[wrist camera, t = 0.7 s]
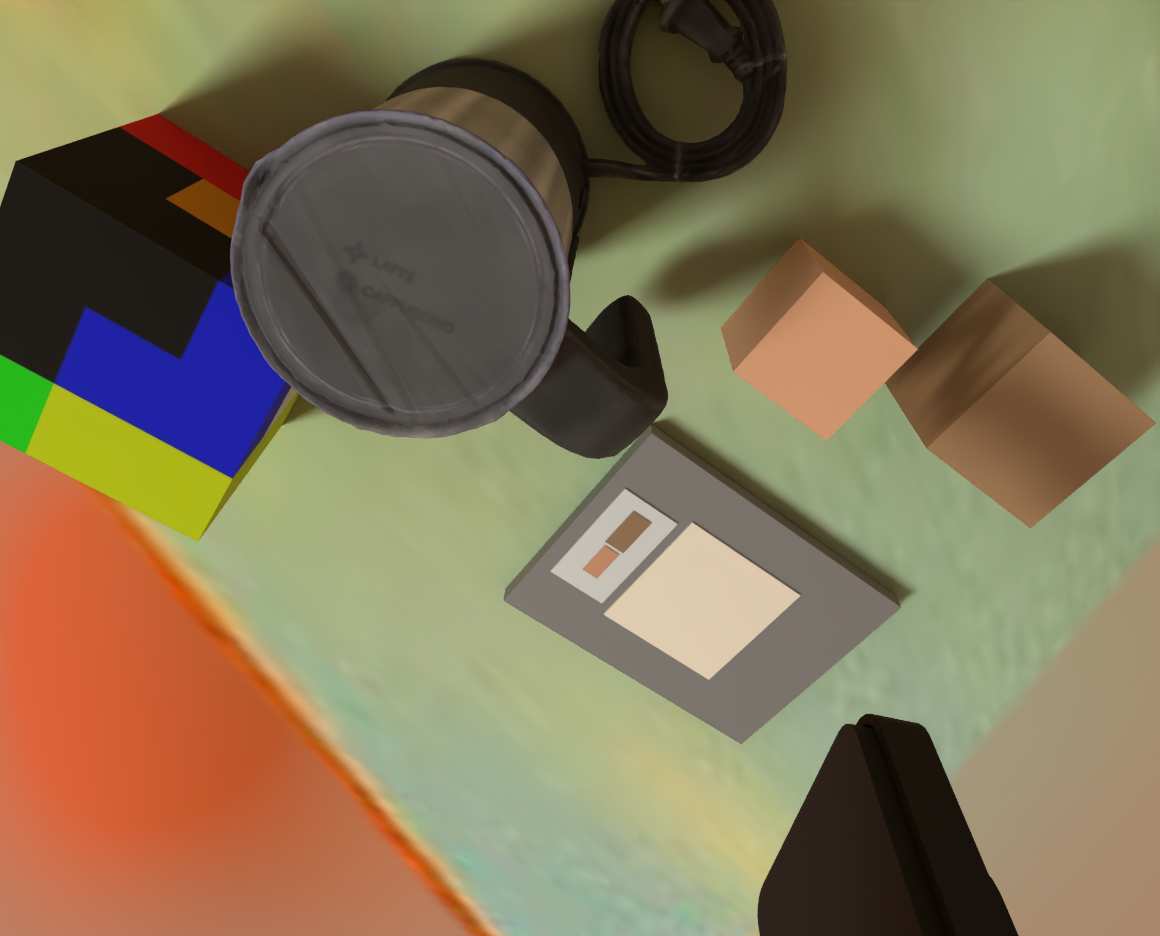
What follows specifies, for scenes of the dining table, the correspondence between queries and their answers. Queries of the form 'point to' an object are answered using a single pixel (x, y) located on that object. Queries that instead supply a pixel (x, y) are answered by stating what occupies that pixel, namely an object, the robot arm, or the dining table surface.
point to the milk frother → (477, 242)
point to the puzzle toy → (132, 323)
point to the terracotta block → (814, 340)
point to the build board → (698, 589)
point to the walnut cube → (1013, 406)
